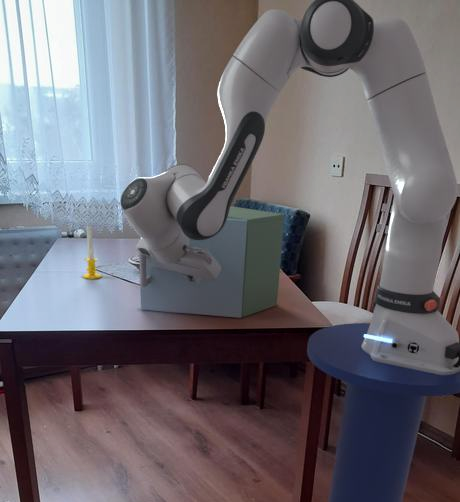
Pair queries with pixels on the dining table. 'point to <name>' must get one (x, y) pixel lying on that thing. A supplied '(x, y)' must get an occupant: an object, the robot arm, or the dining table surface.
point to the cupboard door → (207, 291)
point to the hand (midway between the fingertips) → (195, 280)
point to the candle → (91, 257)
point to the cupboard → (260, 258)
